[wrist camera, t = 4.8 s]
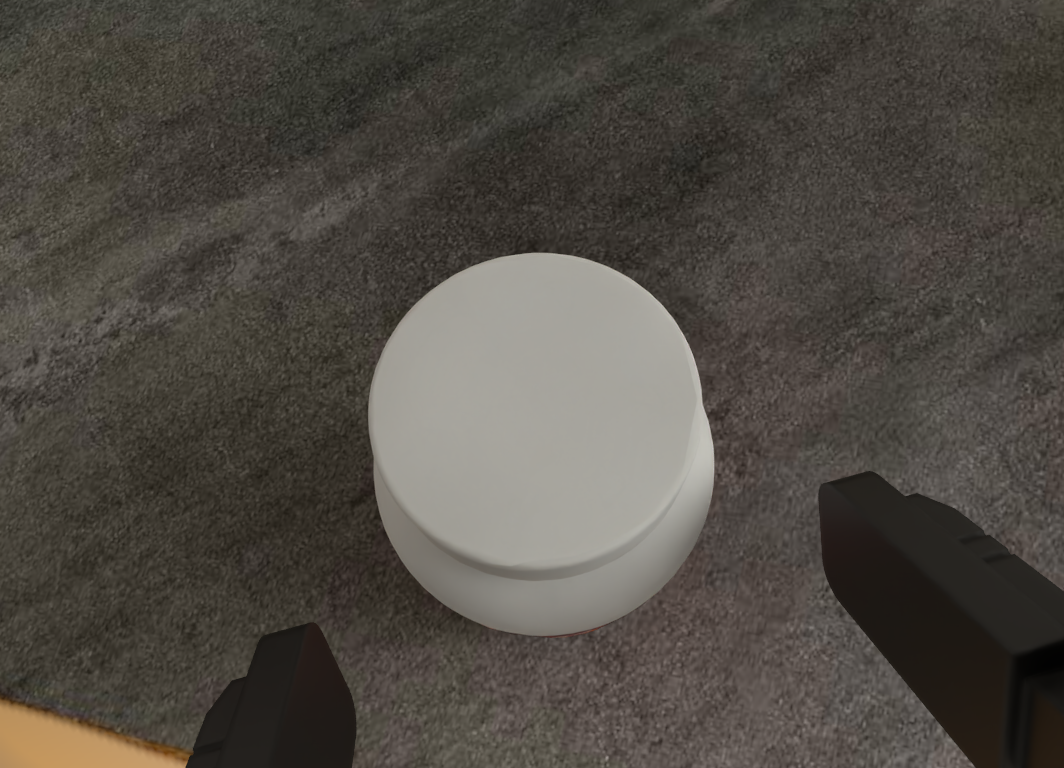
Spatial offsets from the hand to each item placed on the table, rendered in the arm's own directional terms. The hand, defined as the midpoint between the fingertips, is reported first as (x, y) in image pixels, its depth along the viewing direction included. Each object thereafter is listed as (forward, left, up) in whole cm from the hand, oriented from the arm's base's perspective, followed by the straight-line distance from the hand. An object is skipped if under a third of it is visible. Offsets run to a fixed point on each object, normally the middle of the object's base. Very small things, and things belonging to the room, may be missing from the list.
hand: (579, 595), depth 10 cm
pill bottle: (-1, -2, -9) cm, 9 cm away
